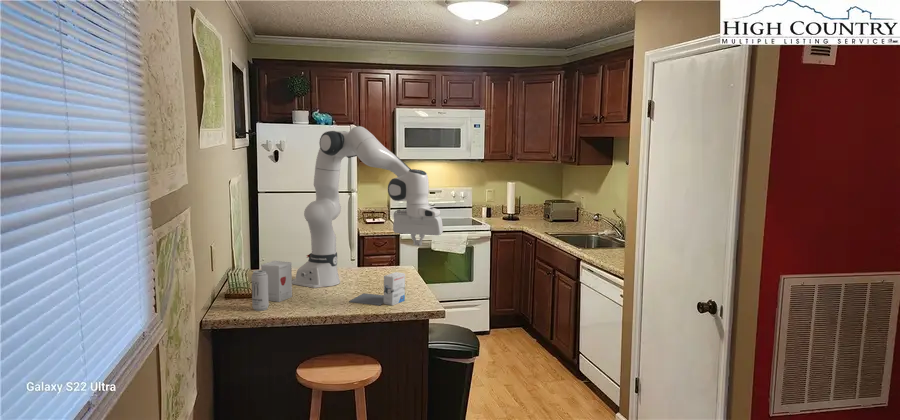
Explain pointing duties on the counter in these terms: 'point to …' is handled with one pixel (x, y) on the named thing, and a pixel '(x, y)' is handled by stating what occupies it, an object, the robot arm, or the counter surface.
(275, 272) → the supplement box
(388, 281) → the ink box
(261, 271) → the energy drink can
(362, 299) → the mat
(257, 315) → the counter surface
